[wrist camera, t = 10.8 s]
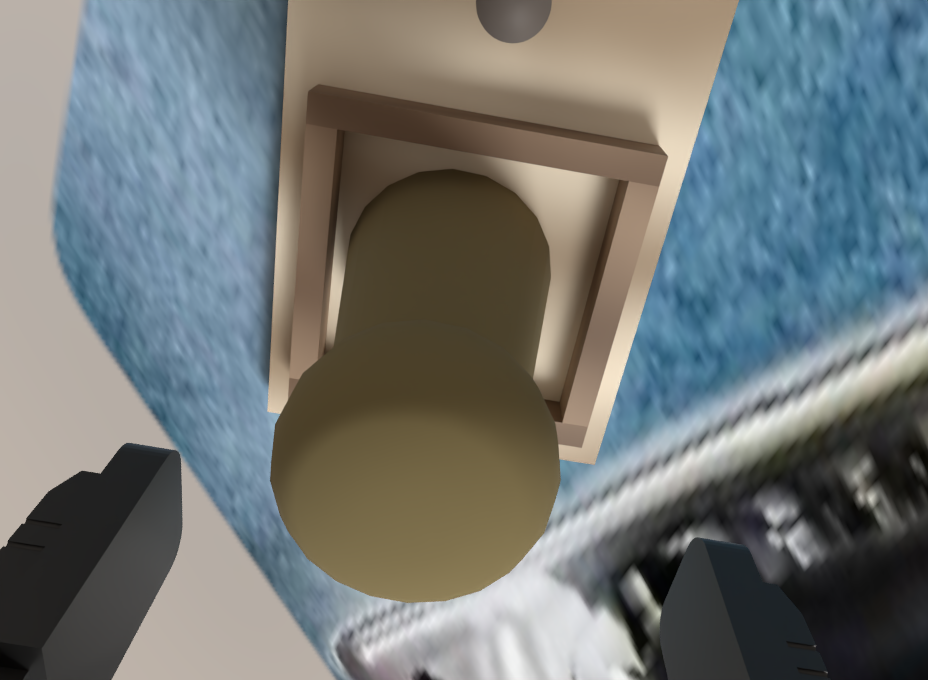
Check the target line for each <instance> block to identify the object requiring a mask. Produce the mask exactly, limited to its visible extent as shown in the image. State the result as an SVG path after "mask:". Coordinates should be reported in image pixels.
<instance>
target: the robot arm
mask: <svg viewBox="0 0 928 680" xmlns="http://www.w3.org/2000/svg"><path fill="white" fill-rule="evenodd" d="M181 534H182V485H181V458H180V454H179V452H178V451H176V450H169V449H163V448H157V447H151V446H145V445H139V444H133V443H126V444H124V445H123V446H122V447H121V448H120V449H119V450H118V451H117V453H116V454H115V455H114V457H113V458H112V459H111V461H110V462H109V463H108V465H107V466H106V467H105V469H104V470H103V471H102V473H101V474H99V473H93V472H87V471H81V472H79V473H78V474H76V475H74V476H73V477H71V478H69V479H68V480H66V481H65V482H63V483H62V484H60V485H58V486H57V487H55V488H53V489H52V490H50V491H49V492H48V493H47V494H46V495H45V496H44V498H43V499H42V500H41V501H40V502H39V504H38V505H37V506H36V507H35V508H34V510H33V511H32V512H31V513H30V515H29V516H28V517H27V518H26V522H25V524H21V525H20V527H19V528H18V529H17V530H16V531H15V533H14V534H13V535H12V536H11V537H10V539H9V540H8V544H7V546H6V547H2V548H1V549H0V680H111V679H112V678H113V676H114V673H115V672H116V670H117V668H118V666H119V664H120V663H121V660H122V659H123V657H124V655H125V653H126V651H127V649H128V648H129V646H130V644H131V642H132V640H133V638H134V636H135V634H136V633H137V631H138V629H139V626H140V625H141V623H142V621H143V619H144V618H145V616H146V614H147V612H148V610H149V608H150V606H151V604H152V603H153V601H154V599H155V597H156V595H157V593H158V591H159V589H160V588H161V586H162V584H163V582H164V580H165V578H166V576H167V574H168V572H169V571H170V569H171V567H172V565H173V562H174V560H175V557H176V555H177V551H178V548H179V544H180V539H181ZM660 642H661V648H662V653H663V657H664V662H665V666H666V671H667V675H668V680H831V679H829V678H827V669H826V667H825V665H824V663H823V660H822V658H821V656H820V654H819V652H816V650H815V647H816V645H815V642H814V640H813V638H812V636H811V633H810V631H809V629H808V627H807V624H806V622H805V620H804V618H803V615H802V614H801V612H800V611H799V610H798V609H797V608H796V607H795V605H794V604H793V603H792V602H791V601H790V600H789V598H788V597H787V596H786V595H785V594H784V593H783V591H782V590H781V589H780V588H779V587H778V586H777V585H775V584H769V583H763V582H762V580H761V577H760V575H759V572H758V570H757V567H756V565H755V562H754V560H753V557H752V555H751V553H750V551H749V549H748V548H747V547H746V546H744V545H741V544H735V543H729V542H723V541H716V540H710V539H704V538H694V539H693V540H692V541H691V542H690V544H689V546H688V548H687V550H686V553H685V555H684V557H683V560H682V562H681V564H680V567H679V569H678V571H677V574H676V576H675V579H674V581H673V583H672V586H671V588H670V590H669V593H668V595H667V597H666V600H665V602H664V605H663V608H662V613H661V619H660Z"/></svg>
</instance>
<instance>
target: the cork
mask: <svg viewBox="0 0 928 680" xmlns="http://www.w3.org/2000/svg"><path fill="white" fill-rule="evenodd" d="M550 280H551V267H550V250H549V245H548V242H547V240H546V237H545V235H544V233H543V230H542V228H541V225H540V223H539V221H538V218H537V217H536V216H535V215H534V213H533V212H532V211H531V210H530V209H529V208H528V207H527V205H526V204H525V203H524V202H523V201H522V200H521V199H520V198H519V196H518V195H517V194H516V193H515V192H513V191H511V190H509V189H508V188H506V187H504V186H503V185H501V184H499V183H497V182H496V181H494V180H492V179H491V178H489V177H487V176H484V175H480V174H475V173H470V172H466V171H461V170H457V169H444V170H433V171H423V172H417V173H415V174H413V175H411V176H408V177H406V178H404V179H402V180H399V181H397V182H395V183H393V184H390V185H388V186H387V187H386V188H385V189H384V190H383V191H382V192H381V193H380V194H378V195H377V196H376V197H375V198H374V199H373V200H372V201H371V202H370V203H369V204H368V205H367V206H365V208H364V210H363V211H362V213H361V215H360V217H359V219H358V221H357V223H356V225H355V227H354V229H353V230H352V232H351V234H350V240H349V247H348V254H347V260H346V267H345V274H344V280H343V287H342V293H341V300H340V307H339V313H338V320H337V327H336V333H335V340H334V346H333V348H332V349H331V350H329V351H328V352H327V353H326V354H325V355H324V356H322V357H321V358H320V359H319V360H318V361H316V362H315V363H314V364H313V365H312V366H311V367H309V368H308V369H307V370H306V371H305V372H303V373H302V375H301V377H300V379H299V381H298V383H297V384H296V386H295V388H294V390H293V392H292V394H291V395H290V397H289V399H288V401H287V403H286V405H285V406H284V408H283V410H282V412H281V414H280V416H279V418H278V420H277V422H276V424H275V432H274V441H273V450H272V460H271V476H270V482H271V485H272V489H273V492H274V496H275V499H276V503H277V506H278V510H279V513H280V516H281V518H282V520H283V522H284V524H285V526H286V528H287V530H288V532H289V533H290V535H291V536H292V537H293V539H294V540H295V542H296V543H297V544H298V546H299V547H300V549H301V550H302V551H303V553H304V554H305V556H306V557H307V559H309V560H310V561H311V562H312V563H314V564H315V565H316V566H318V567H319V568H320V569H321V570H323V571H324V572H325V573H327V574H328V575H329V576H330V577H332V578H333V579H334V580H336V581H337V582H340V583H342V584H344V585H347V586H349V587H351V588H353V589H356V590H358V591H360V592H363V593H365V594H367V595H369V596H374V597H379V598H385V599H390V600H396V601H401V602H406V603H412V602H435V601H447V600H450V599H454V598H457V597H461V596H464V595H467V594H471V593H474V592H478V591H481V590H482V589H484V588H485V587H487V586H489V585H490V584H492V583H493V582H495V581H497V580H498V579H500V578H501V577H503V576H505V575H506V574H508V573H509V572H510V571H511V570H512V569H513V568H514V567H515V566H516V565H517V564H518V563H519V562H520V561H521V560H522V559H523V558H524V556H525V555H526V554H527V553H528V552H529V550H530V549H531V548H532V547H533V546H534V544H535V543H536V542H537V541H538V540H539V538H540V537H541V536H542V535H543V534H544V531H545V528H546V526H547V523H548V520H549V517H550V514H551V511H552V508H553V505H554V502H555V499H556V495H557V492H558V488H559V484H560V481H561V478H560V461H559V445H558V437H557V430H556V424H555V422H554V420H553V417H552V415H551V413H550V411H549V409H548V407H547V404H546V402H545V400H544V398H543V396H542V394H541V392H540V389H539V388H538V386H537V385H536V383H535V381H534V380H533V376H534V371H535V365H536V359H537V354H538V348H539V342H540V337H541V331H542V325H543V320H544V314H545V309H546V303H547V297H548V292H549V286H550Z"/></svg>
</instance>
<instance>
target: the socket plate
mask: <svg viewBox="0 0 928 680" xmlns="http://www.w3.org/2000/svg"><path fill="white" fill-rule="evenodd" d="M738 1H739V0H288V16H287V36H286V56H285V76H284V96H283V115H282V135H281V155H280V175H279V195H278V215H277V235H276V255H275V274H274V294H273V314H272V334H271V354H270V374H269V394H268V412H273V413H279V414H281V412H282V410H283V408H284V406H285V405H286V403H287V401H288V399H289V397H290V395H291V394H292V392H293V390H294V388H295V386H296V384H297V383H298V381H299V379H300V377H301V375H302V373H303V372H305V371H306V370H307V369H308V368H309V367H311V366H312V365H313V364H314V363H315V362H316V361H318V360H319V359H320V358H321V357H322V356H324V355H325V354H326V353H327V352H328V351H329V350H331V349H332V348H333V346H334V340H335V333H336V327H337V320H338V313H339V307H340V300H341V293H342V287H343V280H344V274H345V267H346V260H347V254H348V247H349V240H350V234H351V232H352V230H353V229H354V227H355V225H356V223H357V221H358V219H359V217H360V215H361V213H362V211H363V210H364V208H365V206H367V205H368V204H369V203H370V202H371V201H372V200H373V199H374V198H375V197H376V196H377V195H378V194H380V193H381V192H382V191H383V190H384V189H385V188H386V187H387V186H388V185H390V184H393V183H395V182H397V181H399V180H402V179H404V178H406V177H408V176H411V175H413V174H415V173H417V172H423V171H433V170H444V169H457V170H461V171H466V172H470V173H475V174H480V175H484V176H487V177H489V178H491V179H492V180H494V181H496V182H497V183H499V184H501V185H503V186H504V187H506V188H508V189H509V190H511V191H513V192H515V193H516V194H517V195H518V196H519V198H520V199H521V200H522V201H523V202H524V203H525V204H526V205H527V207H528V208H529V209H530V210H531V211H532V212H533V213H534V215H535V216H536V217H537V218H538V221H539V223H540V225H541V228H542V230H543V233H544V235H545V237H546V240H547V242H548V245H549V250H550V267H551V280H550V286H549V292H548V297H547V303H546V309H545V314H544V320H543V325H542V331H541V337H540V342H539V348H538V354H537V359H536V365H535V371H534V376H533V380H534V381H535V383H536V385H537V386H538V388H539V389H540V392H541V394H542V396H543V398H544V400H545V402H546V404H547V407H548V409H549V411H550V413H551V415H552V417H553V420H554V422H555V424H556V430H557V437H558V445H559V459H562V460H568V461H574V462H580V463H587V464H593V465H595V462H596V458H597V455H598V452H599V449H600V446H601V442H602V439H603V436H604V433H605V429H606V426H607V423H608V420H609V417H610V413H611V410H612V407H613V404H614V400H615V397H616V394H617V391H618V388H619V384H620V381H621V378H622V375H623V371H624V368H625V365H626V362H627V359H628V355H629V352H630V349H631V346H632V343H633V339H634V336H635V333H636V330H637V326H638V323H639V320H640V317H641V314H642V310H643V307H644V304H645V301H646V297H647V294H648V291H649V288H650V285H651V281H652V278H653V275H654V272H655V268H656V265H657V262H658V259H659V256H660V252H661V249H662V246H663V243H664V240H665V236H666V233H667V230H668V227H669V223H670V220H671V217H672V214H673V211H674V207H675V204H676V201H677V198H678V194H679V191H680V188H681V185H682V182H683V178H684V175H685V172H686V169H687V165H688V162H689V159H690V156H691V153H692V149H693V146H694V143H695V140H696V137H697V133H698V130H699V127H700V124H701V120H702V117H703V114H704V111H705V108H706V104H707V101H708V98H709V95H710V91H711V88H712V85H713V82H714V79H715V75H716V72H717V69H718V66H719V62H720V59H721V56H722V53H723V50H724V46H725V43H726V40H727V37H728V34H729V30H730V27H731V24H732V21H733V17H734V14H735V11H736V8H737V5H738Z"/></svg>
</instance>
